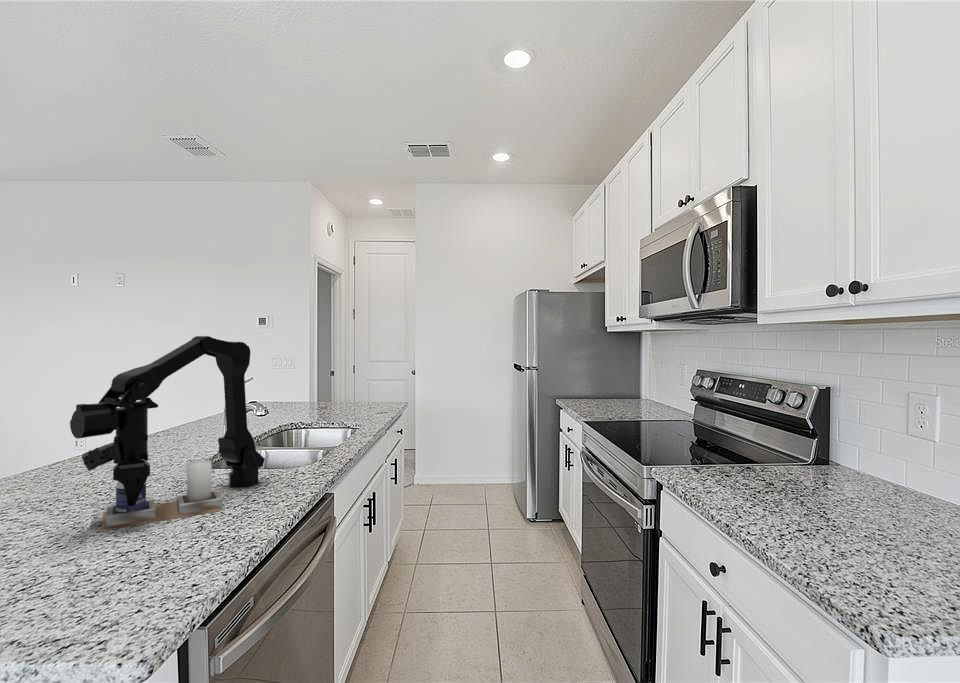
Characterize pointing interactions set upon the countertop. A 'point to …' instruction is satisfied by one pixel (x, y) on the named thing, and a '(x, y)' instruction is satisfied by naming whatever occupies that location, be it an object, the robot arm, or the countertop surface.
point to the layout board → (161, 511)
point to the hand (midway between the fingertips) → (131, 501)
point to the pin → (199, 481)
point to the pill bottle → (123, 503)
